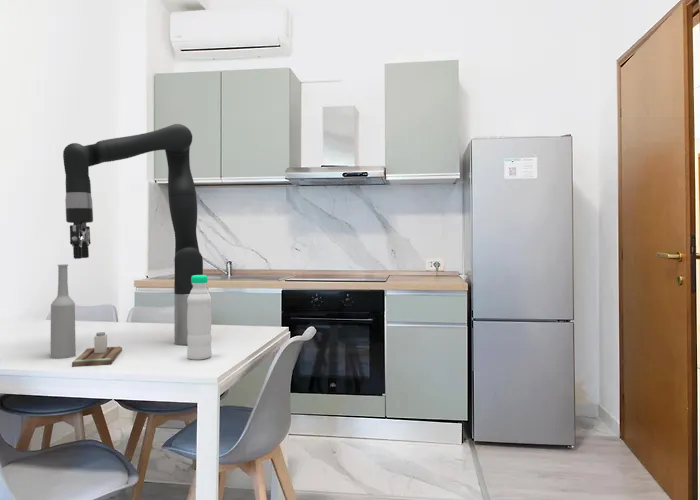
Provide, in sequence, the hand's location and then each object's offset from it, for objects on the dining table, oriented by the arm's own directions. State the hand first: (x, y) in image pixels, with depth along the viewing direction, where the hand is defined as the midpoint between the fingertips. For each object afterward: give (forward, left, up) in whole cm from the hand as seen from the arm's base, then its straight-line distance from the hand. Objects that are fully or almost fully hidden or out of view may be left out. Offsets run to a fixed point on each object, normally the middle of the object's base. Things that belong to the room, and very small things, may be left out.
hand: (81, 258), depth 155 cm
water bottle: (-36, +20, -30) cm, 51 cm away
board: (-7, +13, -30) cm, 33 cm away
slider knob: (-7, +10, -28) cm, 31 cm away
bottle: (+4, +7, -30) cm, 31 cm away
